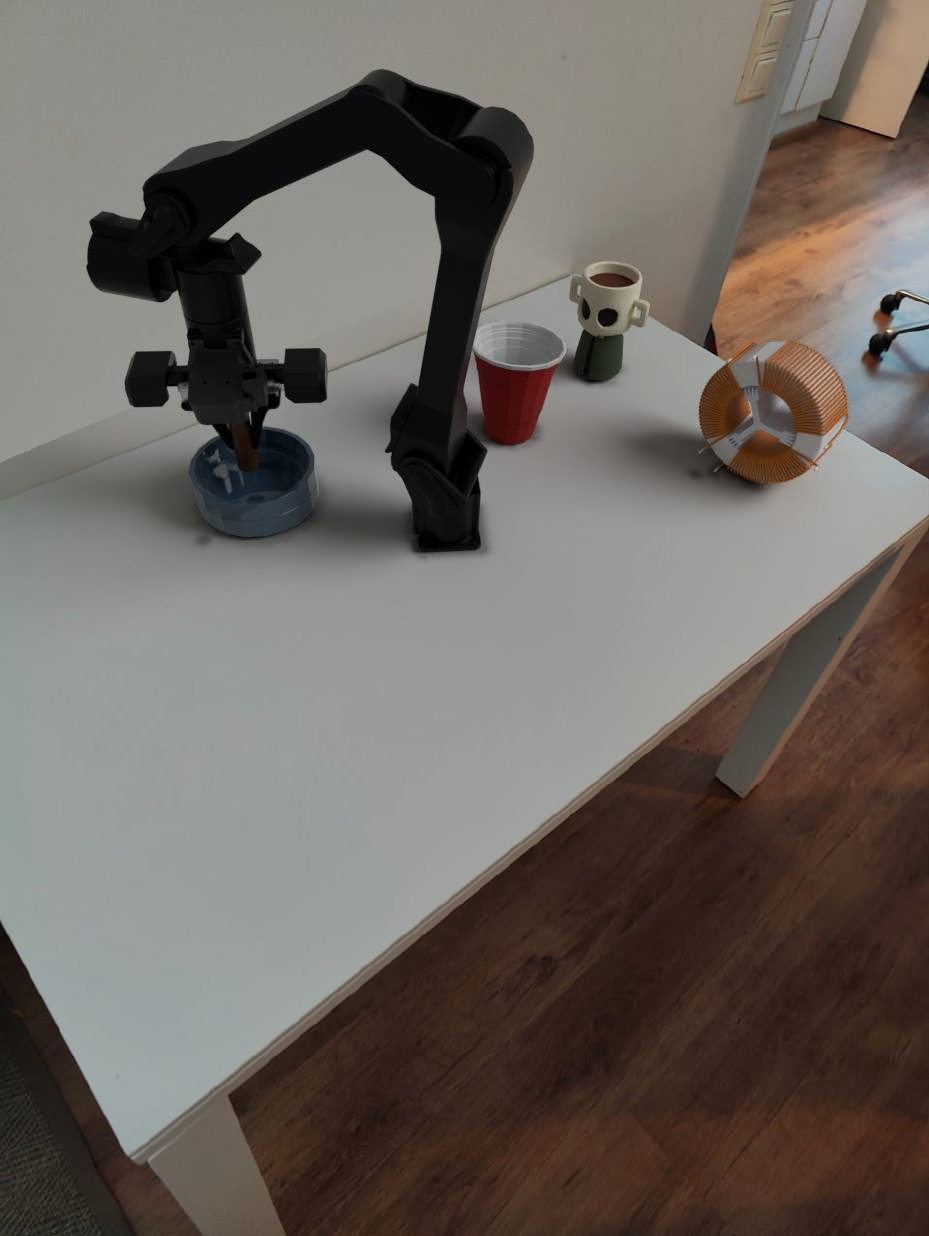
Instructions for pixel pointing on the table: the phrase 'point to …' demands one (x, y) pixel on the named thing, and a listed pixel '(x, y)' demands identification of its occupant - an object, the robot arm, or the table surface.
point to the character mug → (606, 315)
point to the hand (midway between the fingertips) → (244, 446)
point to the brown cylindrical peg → (244, 446)
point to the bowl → (256, 485)
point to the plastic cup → (515, 375)
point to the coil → (773, 411)
